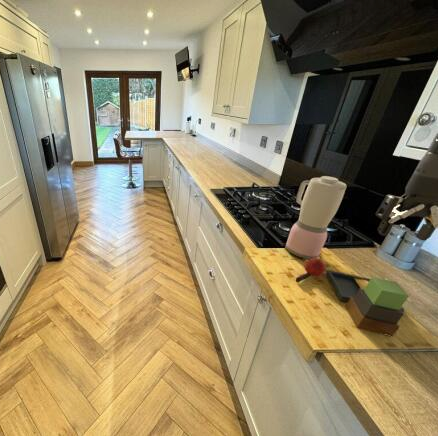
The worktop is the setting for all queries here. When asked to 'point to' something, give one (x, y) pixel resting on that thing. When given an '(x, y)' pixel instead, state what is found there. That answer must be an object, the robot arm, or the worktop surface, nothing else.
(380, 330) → the walnut block
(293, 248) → the blender
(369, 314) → the charcoal block
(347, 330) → the worktop surface
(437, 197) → the robot arm
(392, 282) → the green block
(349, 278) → the tray
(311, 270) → the onion
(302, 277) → the kitchen knife
